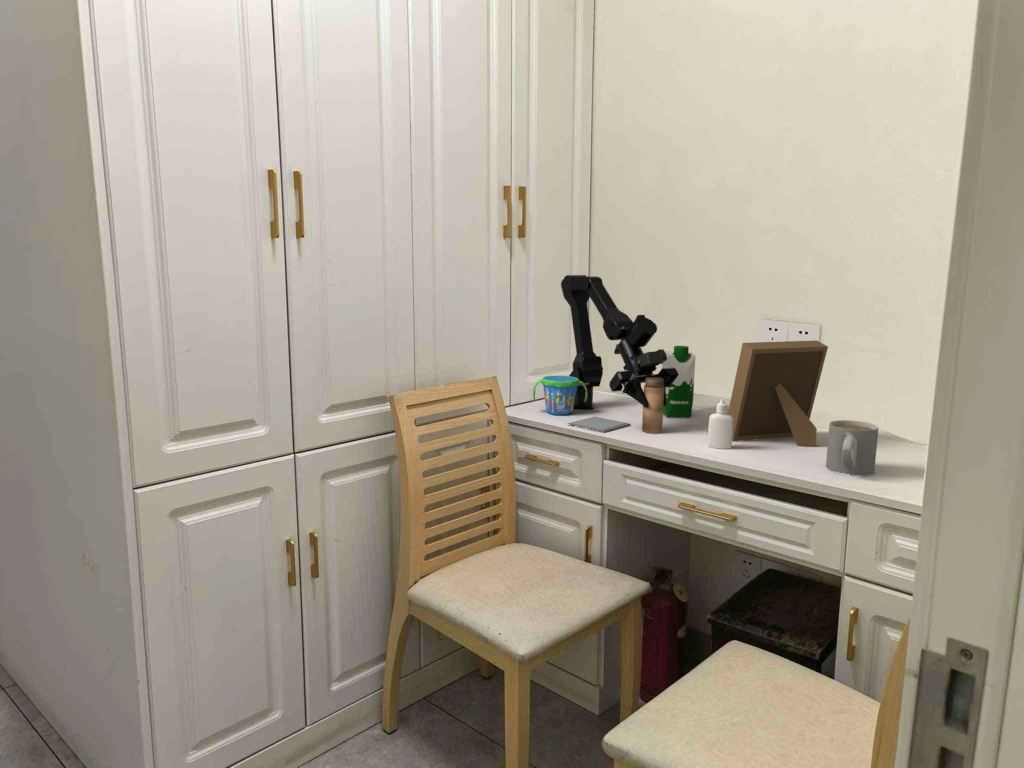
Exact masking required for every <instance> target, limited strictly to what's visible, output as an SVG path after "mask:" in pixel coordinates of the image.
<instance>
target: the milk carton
mask: <svg viewBox="0 0 1024 768" xmlns="http://www.w3.org/2000/svg"><path fill="white" fill-rule="evenodd" d="M689 348H690V347H689V346H688V345H687V346H686V345H674V346H673V350H664V351H665V353H666V355H667V360H666V361H664V362H663V364H661V366H662V367H661V369H662V368H676V370H677V372H678V374H679V375H678V377H677V378H676V379H675V380H674V382H673V383H672V384H671V385H670V386H669V387H666V402H667V404H666V405H665V406H663V416H665V417H666V418H692V412H693V404H694V393H695V392H694V389H695V374H696V373H695V372H696V370H695V369H696V358H697V357H696V354H695V353H693V352H691V351H689V350H690V349H689Z"/></svg>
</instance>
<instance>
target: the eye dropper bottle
mask: <svg viewBox="0 0 1024 768" xmlns="http://www.w3.org/2000/svg"><path fill="white" fill-rule="evenodd" d="M715 410H716V412H714V413H712V414H710V416H709V417H708V418H709V419H708V430H707V431H708V433H707V447H708V448H711V447H712V448H713V449H717V448H720V449H719V450H730V449H731V448H732V443H733V441H732V431H733V417H732V416H731V415H728V404H727V403H725V399H724V398H720V401H719V402H718V403H717V404H716V409H715ZM712 448H711V449H712Z"/></svg>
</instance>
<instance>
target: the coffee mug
mask: <svg viewBox="0 0 1024 768" xmlns="http://www.w3.org/2000/svg"><path fill="white" fill-rule="evenodd" d="M878 436H879V426H878V425H875V424H873V423H870V422H866V421H859V420H847V419H846V420H845V419H841V420H839V419H838V420H832V421H830V422H829V425H828V437H827V438H828V439H827V449H826V461H825V468H826V467H827V468H828V469H827V468H826V469H827V470H829V469H830V470H829V471H831V470H832V471H831V472H833V471H835V472H834V473H836V472H839V473H838V474H840V473H845V474H844V475H846V474H853V475H852V476H855V475H865V476H869V475H868V474H871V475H873V474H874V473H875V468H876V460H877V458H876V457H877V449H878V448H877V446H878ZM872 473H873V474H872Z"/></svg>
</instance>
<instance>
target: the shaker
mask: <svg viewBox="0 0 1024 768" xmlns="http://www.w3.org/2000/svg"><path fill="white" fill-rule="evenodd" d="M643 392H644V394H645V396H646V399H647V401H648V404H649V406H648V407H647V408H646V407H644V406H643V405H642V421H641V423H642V424H641V425H642V426H641V432H642V431H643V432H642V433H644V432H645V434H649V433H650V435H652V434H653V435H655V434H656V435H657V434H662V433H663V423H664V421H663V420H664V414H663V404H664V386H663V378H658V377H648V378H645V383H644V386H643Z"/></svg>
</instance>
